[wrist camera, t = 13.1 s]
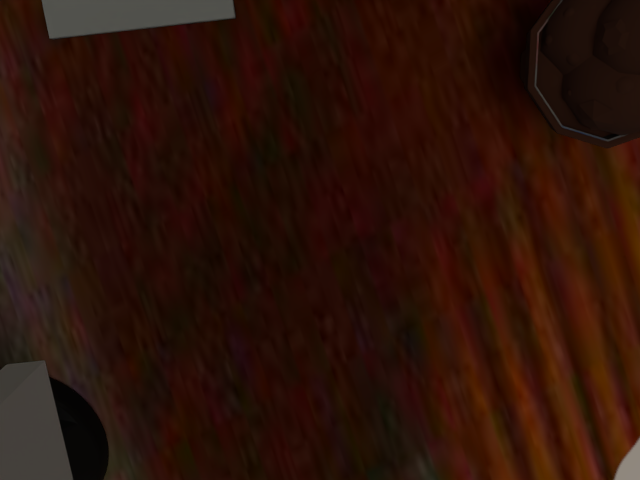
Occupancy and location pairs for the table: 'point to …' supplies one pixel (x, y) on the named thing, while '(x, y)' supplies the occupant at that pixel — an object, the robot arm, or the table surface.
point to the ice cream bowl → (586, 69)
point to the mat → (128, 15)
